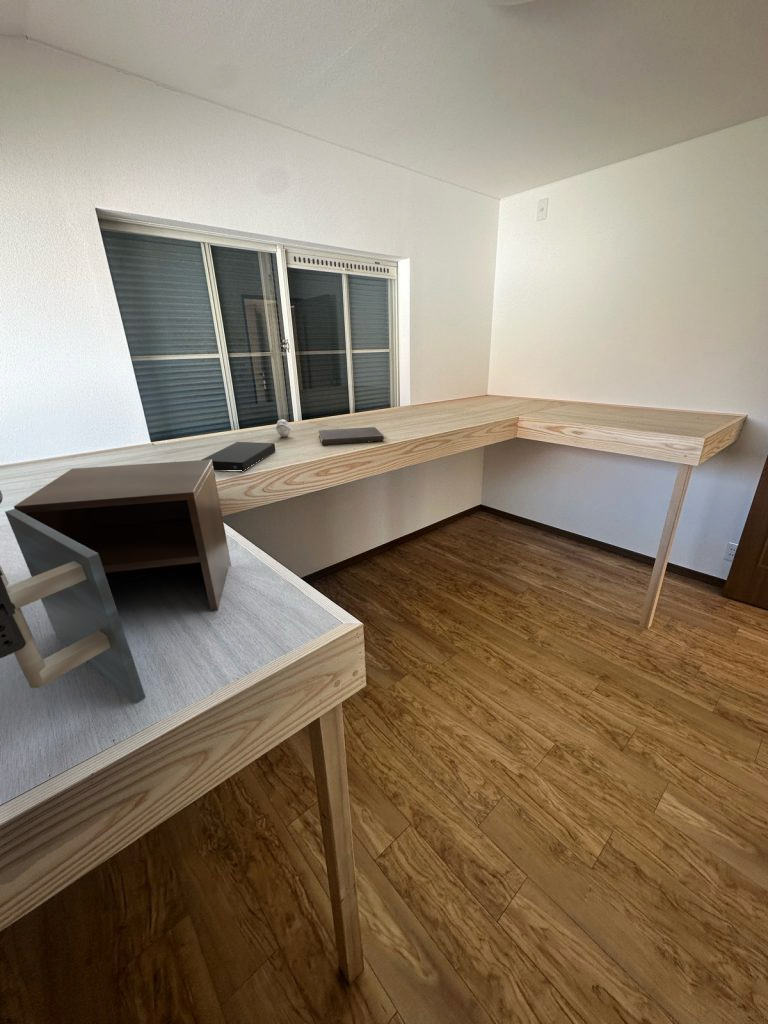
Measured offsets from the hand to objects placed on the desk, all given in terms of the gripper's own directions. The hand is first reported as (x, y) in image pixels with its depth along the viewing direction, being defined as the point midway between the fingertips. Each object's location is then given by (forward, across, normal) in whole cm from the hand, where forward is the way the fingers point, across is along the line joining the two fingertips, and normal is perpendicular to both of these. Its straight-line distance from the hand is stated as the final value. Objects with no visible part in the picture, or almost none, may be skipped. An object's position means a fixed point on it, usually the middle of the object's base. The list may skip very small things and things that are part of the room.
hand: (7, 645), depth 36 cm
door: (+13, +8, -3) cm, 16 cm away
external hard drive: (+14, +75, -71) cm, 104 cm away
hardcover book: (+15, +66, -114) cm, 132 cm away
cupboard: (+14, +18, -18) cm, 29 cm away
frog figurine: (+15, +90, -100) cm, 135 cm away
